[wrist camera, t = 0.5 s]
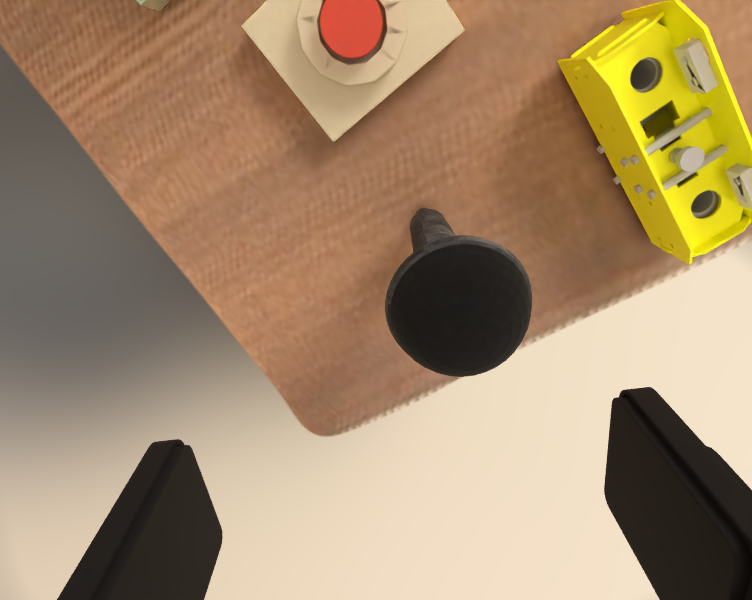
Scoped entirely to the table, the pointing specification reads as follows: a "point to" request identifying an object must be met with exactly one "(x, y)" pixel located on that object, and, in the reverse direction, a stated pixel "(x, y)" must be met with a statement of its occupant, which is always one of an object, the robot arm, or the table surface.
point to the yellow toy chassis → (668, 126)
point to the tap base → (153, 4)
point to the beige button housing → (342, 75)
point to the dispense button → (351, 26)
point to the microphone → (457, 300)
